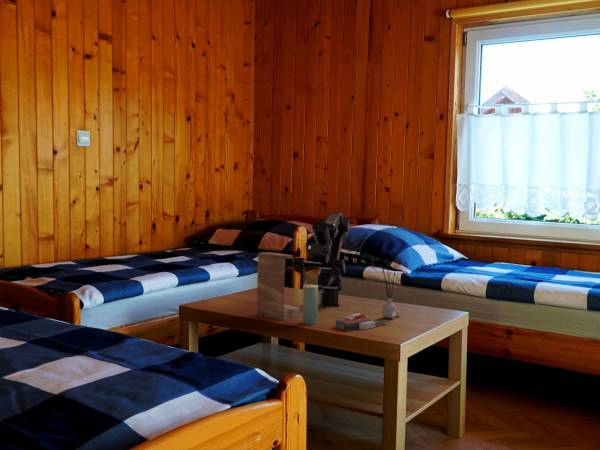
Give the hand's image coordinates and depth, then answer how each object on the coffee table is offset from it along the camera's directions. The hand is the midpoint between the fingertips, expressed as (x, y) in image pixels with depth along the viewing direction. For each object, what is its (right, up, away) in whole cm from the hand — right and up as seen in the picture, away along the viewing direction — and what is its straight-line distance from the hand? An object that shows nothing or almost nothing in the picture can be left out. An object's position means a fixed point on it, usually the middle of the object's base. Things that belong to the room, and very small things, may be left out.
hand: (314, 284), depth 228 cm
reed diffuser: (+27, -13, +7) cm, 30 cm away
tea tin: (-2, -13, -5) cm, 14 cm away
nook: (-13, -12, +6) cm, 18 cm away
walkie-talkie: (+16, -14, -8) cm, 22 cm away
